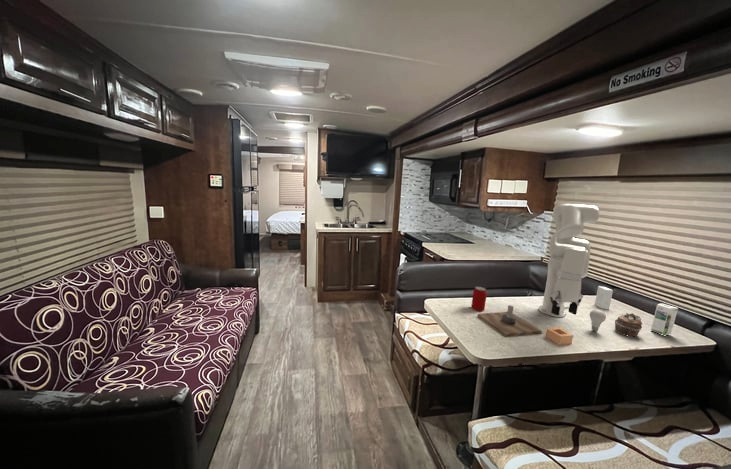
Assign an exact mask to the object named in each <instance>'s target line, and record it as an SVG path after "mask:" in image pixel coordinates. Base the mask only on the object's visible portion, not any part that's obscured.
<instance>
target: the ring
mask: <svg viewBox="0 0 731 469" xmlns="http://www.w3.org/2000/svg"><path fill="white" fill-rule="evenodd" d="M545 330H546V331H545V336H544V337H545V338H547V339H549V340H550V341H552V342H553V343H555V344H557V345H558V346H562V345H571V344H572V343H573V338H574V335H573V334H572V333H570V332H568V331H566V330H565V329H563V328H561V327H559V326H558V327H547V328H546V329H545Z"/></svg>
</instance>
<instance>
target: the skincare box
mask: <svg viewBox="0 0 731 469" xmlns="http://www.w3.org/2000/svg"><path fill="white" fill-rule="evenodd" d="M613 293H614V290H613V289H611V288H608V287H606V286H600V285H598V287H597V292H596V296H595V302H594V306H595V307H597V308H599V309H600V310H610V308H611V307H610V305H611V302H612V299H613V298H612V296H613Z"/></svg>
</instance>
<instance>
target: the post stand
mask: <svg viewBox="0 0 731 469" xmlns="http://www.w3.org/2000/svg"><path fill="white" fill-rule="evenodd" d="M476 317H478V318H479V319H481V321H483V322H485V323H486V324H487V325H488V326H490V327H491V328H493V329H494V330H495V331H497V332H498V333H499V334H501V335H502V336H503V337H505V338H507V337H508V338H510V337H520V336H530V335H531V336H532V335H540V334H543V330H542V329H540V328H538V327H537V326H535V325H533V324H532V323H530V322H528V321H527V320H526V319H523V318H522V317H520V316H519V315H516V314H515V313H514V306H513V305H511V304H510V305H508V306H507V310H506V311H499V312H485V313H477V316H476Z"/></svg>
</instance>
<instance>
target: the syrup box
mask: <svg viewBox="0 0 731 469" xmlns="http://www.w3.org/2000/svg"><path fill="white" fill-rule="evenodd" d="M678 310H679V308H678V307H675V306H671V305H670V304H666V303H658V304H656V309H655V312H654V317H653V320H652V323H651V327H650V330H651V331H654V332H657V333H660V334H663V335H669V334H671V335H672V332H673V328H674V325H675V321H676V317H677V314H678ZM651 331H650V332H651ZM654 332H653V333H654ZM657 333H656V334H657ZM669 336H670V335H669Z"/></svg>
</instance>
